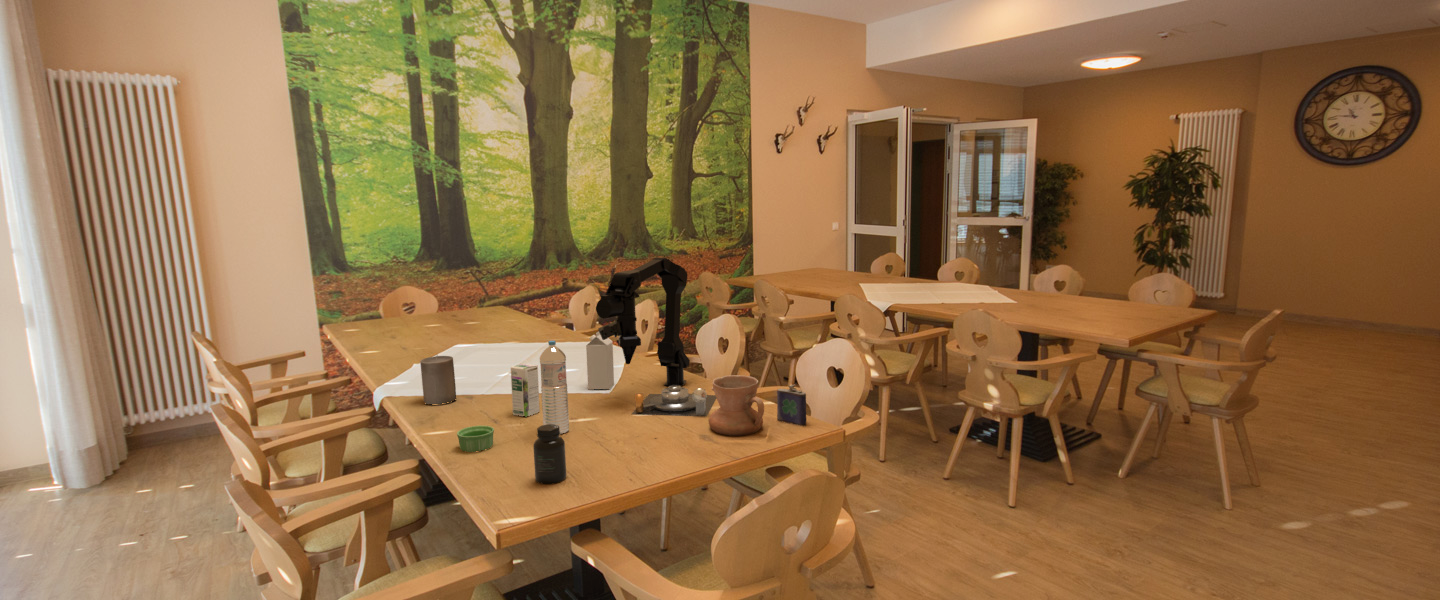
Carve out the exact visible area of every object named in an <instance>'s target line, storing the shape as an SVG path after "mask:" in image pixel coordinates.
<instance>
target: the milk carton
mask: <svg viewBox="0 0 1440 600" xmlns="http://www.w3.org/2000/svg"><path fill="white" fill-rule="evenodd" d="M589 340H590V342H589V343H587V344H586V346H585V347H586V350H585V351H586V367H587V369H586V370H587V371H586V372H587V373H586V374H587V389H588V390H594V389H609V390H610V389H612V387H613V386H614V385H615V376H614V375H615V374H614V373H615V372H614V369H615V368H614V348H613V347H614V346H613V345H614V344H613V343H614V342H613V340H611V338H610V337H608V338H607V339H605V340H602V337H601V335H600V333H599V331H597V332H596V333H595V334H593V335H591V336H590V337H589Z"/></svg>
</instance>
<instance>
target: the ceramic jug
mask: <svg viewBox="0 0 1440 600" xmlns="http://www.w3.org/2000/svg"><path fill="white" fill-rule="evenodd" d="M758 388H759V380H758V379H757V378H756V377H753V376H751V375H750V376H749V375H742V374H741V375H739V374H738V375H737V374H736V375H734V374H731V375H730V374H729V375H724V376H721V377H716V378H714V379H712V387H711V388H710V389H711V391H712V392H714V395H715V396H716V398H717V399H716V401H717V403H718V405H719V407H718V408H717V409H715V411H713V412H712V413H710V416H709V418H708V424H709V427H710V429H711V430H712V431H713V432H715V433H717V434H719V435H723V436H730V437H732V436H733V437H739V436H740V437H742V436H749V435H752V434H755V433H757V432H758V431H760V430H761V429H762V427H763V424H764V419H763V417H764V414H765V404H764V401H763V399H762V398H760V397H759V396H757V393H758ZM753 403H755V404H756V405H757V406H756V407H757V410H756V409H754V408H753V407H752V406H753Z"/></svg>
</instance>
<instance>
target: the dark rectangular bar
mask: <svg viewBox="0 0 1440 600" xmlns="http://www.w3.org/2000/svg"><path fill="white" fill-rule="evenodd" d="M691 394H692V398H693V400H694V401H695V402H696V415H703V416H704V415H705V414H706V400H705V399H706V397H707V395H708V394H707V391H706V389H705V388H701V387H698V388H695V389H694V390H693V391H692V393H691Z"/></svg>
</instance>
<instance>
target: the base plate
mask: <svg viewBox="0 0 1440 600" xmlns="http://www.w3.org/2000/svg"><path fill="white" fill-rule="evenodd" d="M659 395H662V393H649V394H648V395H647V396H646V397H645V398H643V401H644V405H648V404H650V402H649V401H650V399H651V398H653V397H655V396H659ZM705 400H706V414H705V415H704V416H703V415H696V408H695V409H691V410H685V411H662V410H657V409H652V410H647V411H643V412H636V411H635V409H634V410H633V411H632V413H630V415H636V416H665V417H666V416H672V417H673V416H674V417H708V415H709V413H710V412H711V410H712V407H713V406H714V404H715V402H716V401H717V398H716V396H715V394H707V397H706V399H705Z"/></svg>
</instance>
